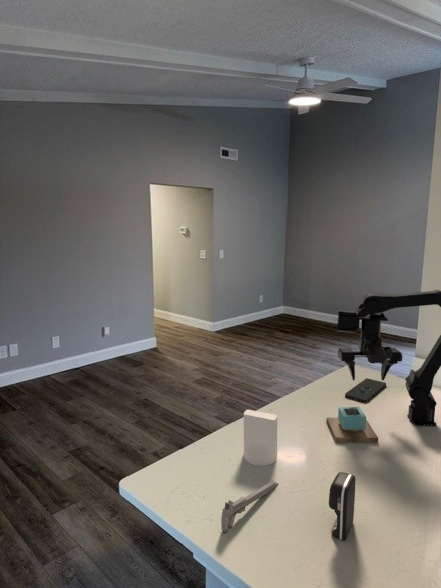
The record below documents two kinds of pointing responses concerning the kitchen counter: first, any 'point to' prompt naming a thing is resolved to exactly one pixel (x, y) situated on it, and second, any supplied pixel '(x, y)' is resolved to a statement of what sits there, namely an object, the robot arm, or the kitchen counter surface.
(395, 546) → the kitchen counter surface
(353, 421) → the collar
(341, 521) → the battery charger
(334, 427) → the stand
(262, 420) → the white upright block
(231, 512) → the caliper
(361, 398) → the smart home device
